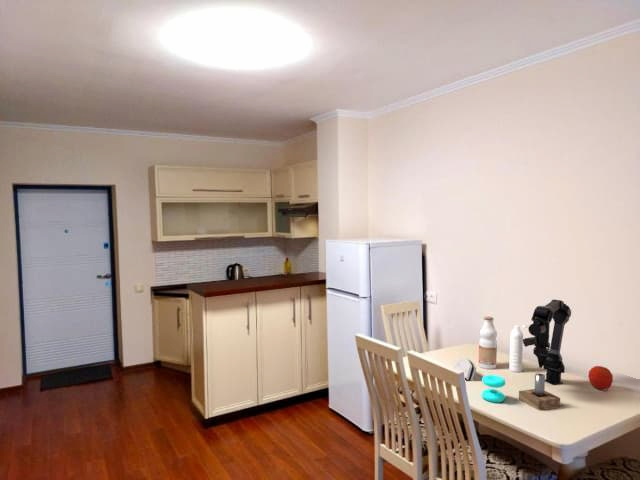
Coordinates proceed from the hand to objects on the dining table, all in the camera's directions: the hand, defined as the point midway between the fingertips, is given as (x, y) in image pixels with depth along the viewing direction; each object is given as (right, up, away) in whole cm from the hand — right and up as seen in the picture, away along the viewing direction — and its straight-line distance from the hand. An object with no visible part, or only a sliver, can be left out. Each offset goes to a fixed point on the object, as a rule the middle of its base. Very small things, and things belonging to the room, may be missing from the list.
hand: (541, 365), depth 220 cm
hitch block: (-7, -14, -13) cm, 20 cm away
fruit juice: (-12, -11, +37) cm, 40 cm away
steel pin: (-7, -14, -13) cm, 20 cm away
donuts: (-26, -14, -8) cm, 31 cm away
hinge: (-30, -12, +23) cm, 39 cm away
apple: (+32, -13, +6) cm, 35 cm away
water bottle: (+2, -12, +31) cm, 33 cm away
